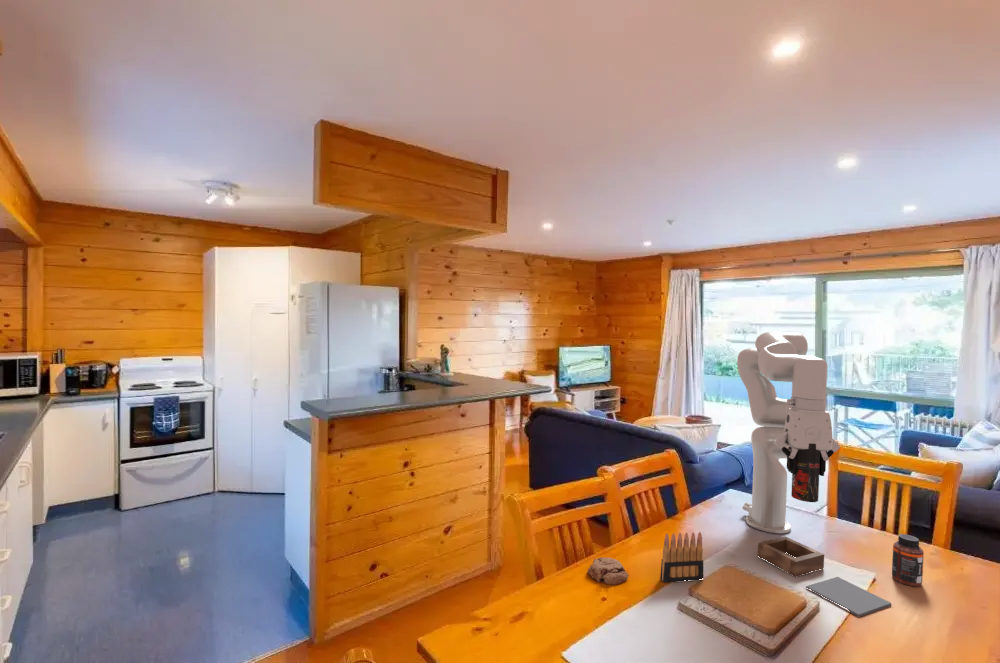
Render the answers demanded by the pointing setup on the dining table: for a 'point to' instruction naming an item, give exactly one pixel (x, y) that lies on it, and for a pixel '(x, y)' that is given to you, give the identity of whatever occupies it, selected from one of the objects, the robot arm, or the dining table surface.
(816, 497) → the deodorant
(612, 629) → the dining table surface
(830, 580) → the mat
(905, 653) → the dining table surface
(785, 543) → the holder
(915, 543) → the supplement bottle
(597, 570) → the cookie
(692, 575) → the ammunition clip
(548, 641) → the dining table surface
